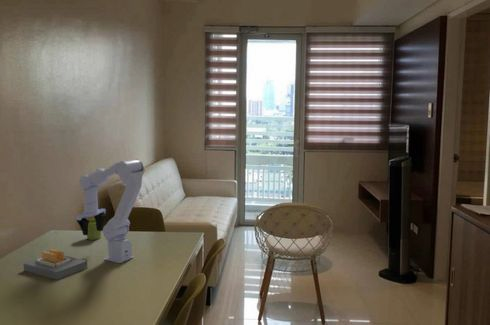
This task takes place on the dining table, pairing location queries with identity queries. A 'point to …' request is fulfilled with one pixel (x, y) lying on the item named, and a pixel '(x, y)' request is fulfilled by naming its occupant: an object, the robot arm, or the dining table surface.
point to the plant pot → (93, 230)
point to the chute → (53, 256)
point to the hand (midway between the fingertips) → (92, 232)
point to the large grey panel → (55, 267)
